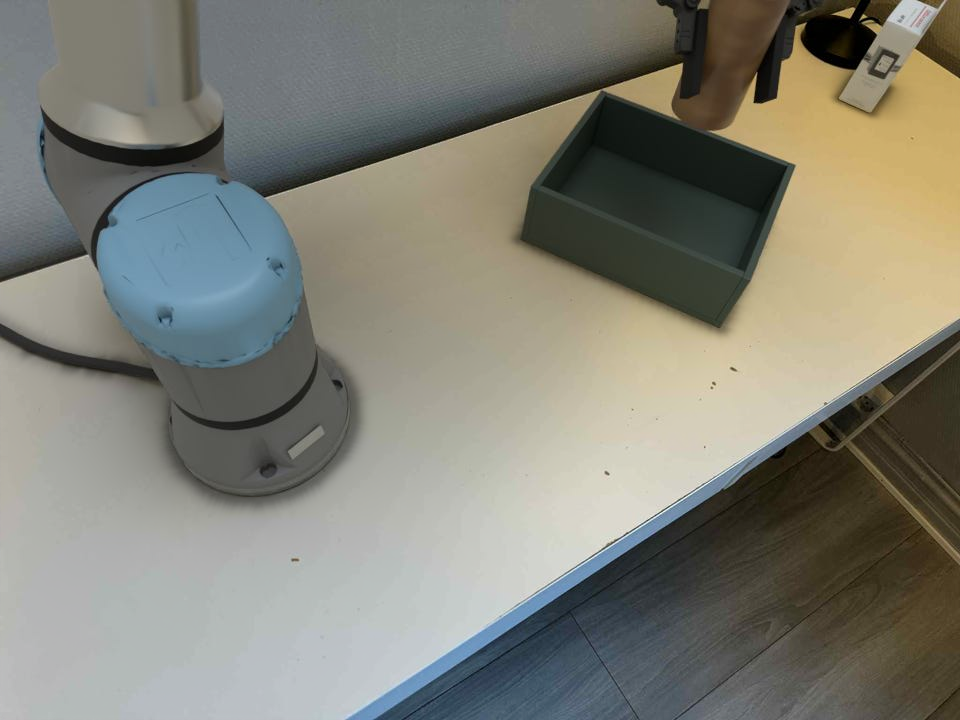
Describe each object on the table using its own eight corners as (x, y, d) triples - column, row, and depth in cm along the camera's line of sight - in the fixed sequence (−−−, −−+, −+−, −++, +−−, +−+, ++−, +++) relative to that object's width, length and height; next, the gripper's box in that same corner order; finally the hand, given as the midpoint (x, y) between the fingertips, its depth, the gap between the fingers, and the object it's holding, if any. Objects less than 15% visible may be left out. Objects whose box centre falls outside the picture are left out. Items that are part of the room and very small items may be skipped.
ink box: (856, 73, 99) (919, -30, 86) (888, 87, 97) (957, -15, 85) (836, 99, 94) (900, -5, 82) (869, 114, 93) (939, 11, 81)
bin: (520, 239, 74) (530, 186, 68) (587, 143, 85) (601, 89, 78) (719, 328, 70) (751, 280, 63) (765, 215, 80) (796, 164, 73)
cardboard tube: (677, 129, 60) (729, -3, 50) (666, 88, 63) (713, -44, 53) (741, 132, 61) (805, 2, 51) (726, 92, 64) (784, -38, 54)
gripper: (849, -175, 56) (809, 111, 61) (631, -196, 55) (607, 99, 60) (911, -233, 49) (860, 97, 54) (661, -259, 48) (631, 83, 52)
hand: (727, 98), depth 57 cm, fingers closed on cardboard tube, 6 cm apart
